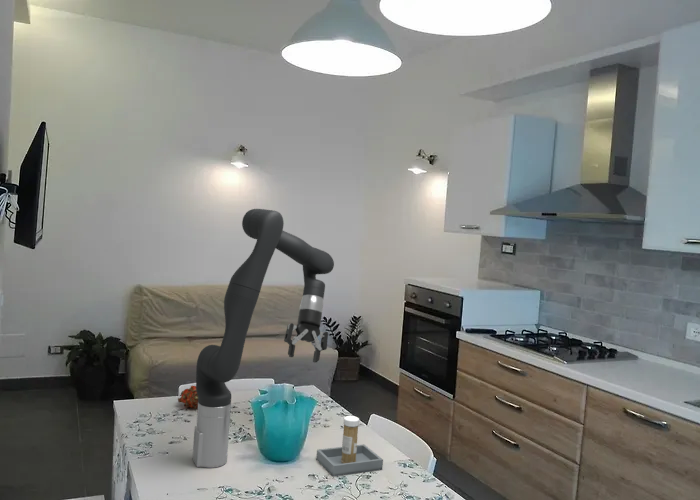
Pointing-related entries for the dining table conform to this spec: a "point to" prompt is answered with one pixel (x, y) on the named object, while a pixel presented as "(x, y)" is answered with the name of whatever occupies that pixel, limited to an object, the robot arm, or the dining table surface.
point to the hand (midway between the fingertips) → (303, 359)
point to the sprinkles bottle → (350, 439)
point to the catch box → (335, 467)
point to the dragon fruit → (189, 398)
